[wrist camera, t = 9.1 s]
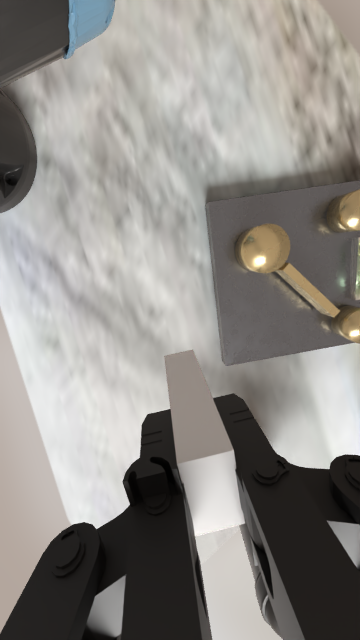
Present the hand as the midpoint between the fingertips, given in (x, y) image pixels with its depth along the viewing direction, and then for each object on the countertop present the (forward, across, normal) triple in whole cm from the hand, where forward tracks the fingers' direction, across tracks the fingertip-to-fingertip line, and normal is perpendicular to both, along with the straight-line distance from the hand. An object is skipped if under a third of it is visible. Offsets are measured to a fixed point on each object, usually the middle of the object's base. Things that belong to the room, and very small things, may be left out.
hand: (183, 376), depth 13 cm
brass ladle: (+23, +18, 0) cm, 29 cm away
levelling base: (+25, +20, -2) cm, 32 cm away
